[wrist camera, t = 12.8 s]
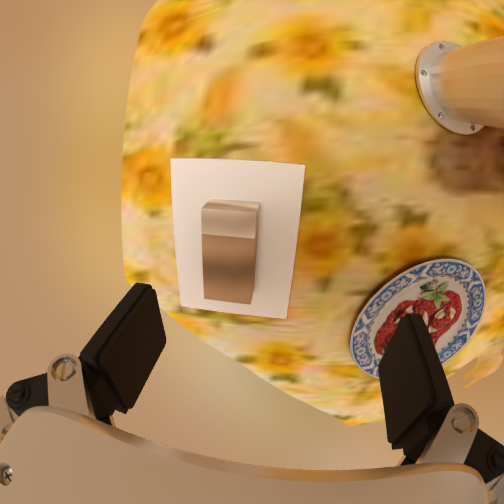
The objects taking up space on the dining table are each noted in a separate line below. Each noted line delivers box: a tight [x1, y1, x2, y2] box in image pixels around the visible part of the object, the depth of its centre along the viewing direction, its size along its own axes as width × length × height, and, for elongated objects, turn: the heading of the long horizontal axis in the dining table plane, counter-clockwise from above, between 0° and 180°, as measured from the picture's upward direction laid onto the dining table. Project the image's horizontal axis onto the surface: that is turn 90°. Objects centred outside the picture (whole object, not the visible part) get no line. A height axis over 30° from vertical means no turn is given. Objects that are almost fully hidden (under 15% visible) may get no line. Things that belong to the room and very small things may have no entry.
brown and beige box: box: [201, 199, 260, 305], centre depth 34 cm, size 12×6×4 cm, turn 177°
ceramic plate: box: [350, 258, 486, 379], centre depth 38 cm, size 26×26×3 cm
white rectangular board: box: [171, 158, 305, 319], centre depth 36 cm, size 16×22×1 cm
